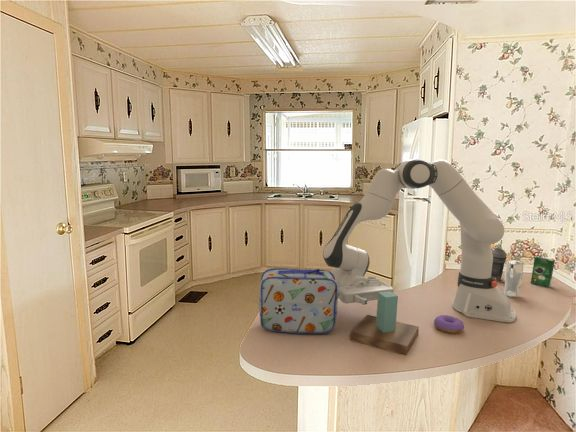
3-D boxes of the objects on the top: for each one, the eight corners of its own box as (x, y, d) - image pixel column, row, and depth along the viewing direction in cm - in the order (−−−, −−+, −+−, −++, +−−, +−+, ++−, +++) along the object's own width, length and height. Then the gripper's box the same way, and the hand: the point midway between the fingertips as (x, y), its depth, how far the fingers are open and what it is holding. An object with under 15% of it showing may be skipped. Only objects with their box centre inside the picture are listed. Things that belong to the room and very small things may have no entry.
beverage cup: (498, 277, 201) (503, 237, 198) (507, 281, 194) (512, 241, 191) (484, 276, 201) (488, 237, 198) (492, 281, 194) (497, 241, 190)
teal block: (387, 325, 136) (389, 291, 134) (395, 330, 132) (397, 295, 130) (375, 326, 134) (378, 292, 132) (383, 332, 130) (385, 297, 128)
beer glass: (522, 298, 172) (526, 264, 170) (504, 297, 173) (508, 263, 171) (516, 293, 179) (520, 260, 177) (499, 291, 180) (503, 259, 178)
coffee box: (551, 286, 189) (555, 259, 187) (549, 287, 187) (553, 260, 185) (532, 282, 195) (535, 255, 193) (530, 283, 193) (533, 256, 191)
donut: (428, 327, 141) (431, 314, 141) (438, 325, 148) (441, 312, 148) (457, 337, 134) (460, 323, 134) (466, 334, 141) (469, 320, 141)
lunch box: (336, 323, 143) (339, 263, 140) (340, 336, 133) (344, 272, 130) (259, 322, 143) (260, 262, 139) (257, 335, 133) (258, 271, 129)
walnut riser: (418, 334, 136) (418, 326, 135) (406, 355, 122) (407, 346, 122) (366, 322, 145) (367, 314, 144) (350, 340, 131) (350, 331, 130)
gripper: (332, 281, 145) (350, 295, 133) (380, 277, 152) (403, 289, 140) (331, 298, 146) (349, 313, 134) (379, 293, 154) (401, 306, 141)
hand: (377, 301), depth 137 cm, fingers open, 8 cm apart
